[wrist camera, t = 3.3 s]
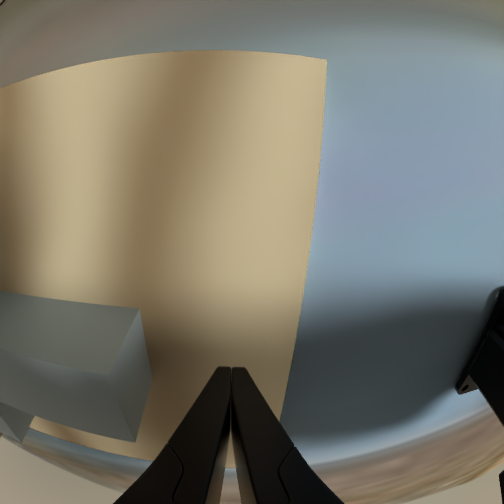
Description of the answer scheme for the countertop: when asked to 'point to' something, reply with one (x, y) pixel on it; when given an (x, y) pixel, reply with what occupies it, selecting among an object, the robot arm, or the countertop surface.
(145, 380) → the tee block
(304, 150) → the birch board
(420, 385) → the countertop surface
